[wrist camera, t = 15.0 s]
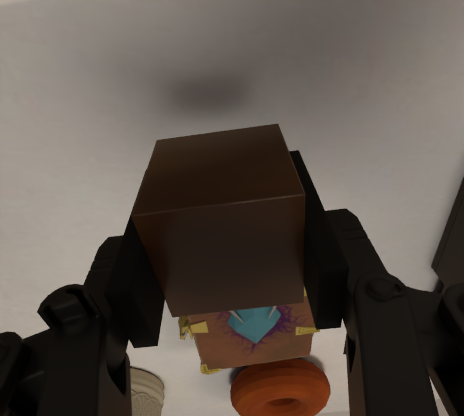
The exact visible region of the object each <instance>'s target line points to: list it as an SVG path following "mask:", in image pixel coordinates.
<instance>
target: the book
mask: <svg viewBox="0 0 464 416" xmlns="http://www.w3.org/2000/svg"><path fill="white" fill-rule="evenodd" d="M178 323H179V327H180V339H185V337H186V334H187V333H189V334H190V337H191V339H193V336H194V339H195V343H196V346H197V349H198V353H199V356H200V359H201V373H202V374H212V373H215V372H219V371H221V369H226V368H233V367H239V366H246V365H253V364H259V363H266V362H272V361H279V360H285V359H292V358H298V357H305V356H309V354H310V351H311V344H312V337H313V334H314V333H315V332H320V329H319V330H316V328H315V324H314V320H313V316H312V313H311V309H310V305H309V302H308V298H307V294H306V290H305V287H304V303H299V304H290V305H280V306H271V307H262V308H253V309H244V310H235V311H226V312H217V313H208V314H199V315H190V316H181V317H179V321H178Z"/></svg>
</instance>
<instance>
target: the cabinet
mask: <svg viewBox="0 0 464 416" xmlns="http://www.w3.org/2000/svg"><path fill="white" fill-rule="evenodd" d="M432 268H433V270H434V271H435V272H436V274H437V275H438V277H439V278H440V279H441V281H442V282H443V284H444V285H445V286H446V288H448V287H449V286H451V285H454V284H458V283H464V179H463V182H462V185H461V187H460V190H459V193H458V196H457V198H456V201H455V204H454V206H453V209H452V212H451V215H450V217H449V220H448V223H447V226H446V228H445V231H444V234H443V237H442V239H441V242H440V245H439V247H438V250H437V253H436V256H435V258H434V261H433V264H432Z"/></svg>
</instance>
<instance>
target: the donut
mask: <svg viewBox="0 0 464 416" xmlns="http://www.w3.org/2000/svg"><path fill="white" fill-rule="evenodd" d="M230 393H231V402H232V406H233V407H234V408H235V410H236V411H237V412H238V413H239V415H240V416H314V415H316V414H317V413H319V412H320V411H321V410H322V409H323V408H324V407H325V406H326V404H327V401H328V399H329V396H330V385H329V382H328V379H327V377H326V375H325V373H324V372H323V371H322V370H320V369H319V368H318V367H317V366H315V365H314V364H313V363H311V362H308V361H305V360H302V359H296V358H292V359H285V360H279V361H272V362H266V363H259V364H253V365H250V366H248V367H247V368H245V369H244V370H242V371H241V372H240V373H239V374H238V376H237V377H236V379H235V380H234V382H233V383H232V385H231V391H230Z"/></svg>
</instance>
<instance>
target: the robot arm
mask: <svg viewBox="0 0 464 416" xmlns="http://www.w3.org/2000/svg"><path fill="white" fill-rule="evenodd" d="M289 153H290V156H291V158H292V161H293V163H294V166H295V169H296V171H297V174H298V176H299V179H300V182H301V184H302V187H303V190H304V192H305V246H304V287H305V290H306V294H307V298H308V302H309V305H310V309H311V313H312V316H313V320H314V324H315V328H316V330H319V329H329V328H339V327H341V322H342V318H343V321H344V324H345V327H346V330H347V335H346V341H345V347H344V353H343V354H346V356H347V374H348V391H349V408H350V416H439V414H438V410H437V406H436V402H435V398H434V394H433V390H432V386H431V382H430V379H431V381H432V383H433V385H434V387H435V389H436V391H437V393H438V395H439V397H440V399H441V400H442V403H443V405H444V406H445V409H446V411H447V413H448V414H449V416H464V283H458V284H454V285H451V286H449V287H448V288H447V289H446V290H445V291H444V294H441V293H435V292H428V291H422V290H417V289H413V288H410V287H407V286H405V285H404V284H403V283H402V282H401V281H400V280H399V279H398V278H397V277H395V276H393V275H391V274H389V273H388V272H387V270H386V269H385V267H384V265H383V263H382V261H381V260H380V258H379V256H378V254H377V252H376V251H375V249H374V247H373V245H372V243H371V241H370V240H369V238H368V236H367V234H366V232H365V231H364V230H363V227H362V225H361V223H360V221H359V220H358V218H357V217H356V216H355V215H354V214H353V213H351V212H350V211H349V210H347V209H338V210H329V211H325V210H324V208H323V205H322V203H321V201H320V198H319V196H318V194H317V191H316V189H315V187H314V185H313V182H312V180H311V178H310V175H309V173H308V171H307V168H306V166H305V164H304V161H303V159H302V157H301V155H300V152H299V150H296V151H289ZM146 170H147V169H146ZM145 173H146V171H145ZM144 176H145V174H144ZM143 179H144V177H143ZM142 182H143V180H142ZM141 185H142V183H141ZM140 188H141V186H140ZM139 191H140V189H139ZM138 194H139V192H138ZM137 197H138V195H137ZM136 200H137V198H136ZM135 203H136V201H135ZM135 203H134V206H135ZM134 206H133V209H134ZM133 209H132V212H133ZM132 212H131V215H132ZM131 215H130V218H129V221H128V224H127V227H126V230H125V233H124V235H122V236H114V237H108V238H107V239H106V240H105V241H104V243H103V244H102V245H101V246H100V247H99V249H98V251H97V253H96V256H95V258H94V261H93V263H92V265H91V268H90V269H91V270H90V271H89V273H88V275H87V277H86V280H85V282H84V285H79V284H71V285H66V286H64V287H61V288H59V289H57V290H55V291H54V292H52V293H51V294H50V295H48V296H47V297H46V298H45V299H44V301H43V302H42V303H41V304H40V307H39V309H38V311H37V313H38V314H39V315H40V316H41V317H42V319H43V320H44V321H45V322H46V324H47V325H48V326H49V327H50V329H48V330H45V331H43V332H40V333H38V334H35V335H32V336H30V337H27V338H24V339H22V338H21V337H20V336H19V335H18V334H16V333H15V332H4V333H0V416H132V401H131V376H130V361H129V357H128V355H127V353H126V349H127V345H128V340H130V342H131V343H132V345H133V347H134V348H141V347H151V346H158V340H159V334H160V327H161V321H162V314H163V308H164V302H165V298H164V295H163V293H162V290H161V288H160V285H159V283H158V280H157V278H156V275H155V272H154V270H153V267H152V265H151V262H150V260H149V257H148V255H147V252H146V250H145V247H144V245H143V244H142V241H141V239H140V236H139V234H138V232H137V229H136V227H135V224H134V222H133V219H132V217H131ZM429 377H430V378H429Z"/></svg>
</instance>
